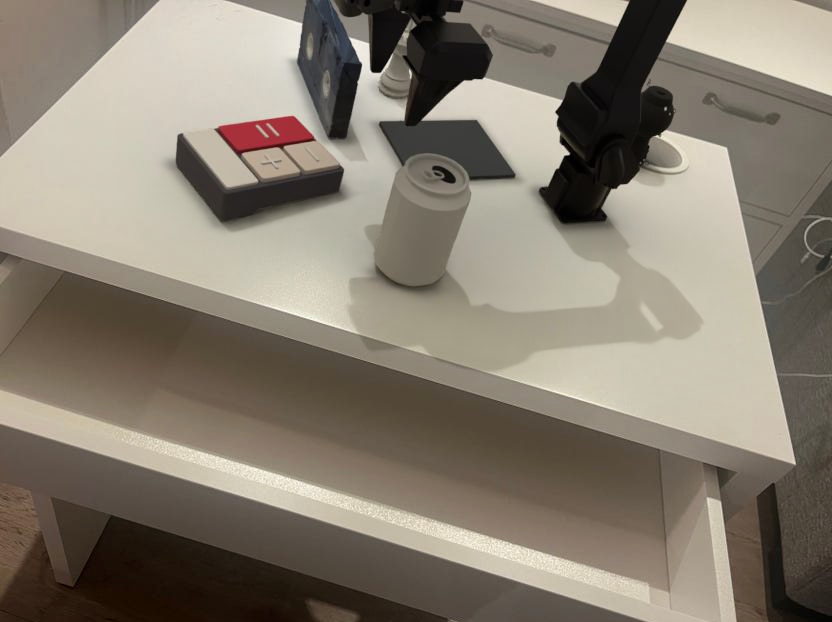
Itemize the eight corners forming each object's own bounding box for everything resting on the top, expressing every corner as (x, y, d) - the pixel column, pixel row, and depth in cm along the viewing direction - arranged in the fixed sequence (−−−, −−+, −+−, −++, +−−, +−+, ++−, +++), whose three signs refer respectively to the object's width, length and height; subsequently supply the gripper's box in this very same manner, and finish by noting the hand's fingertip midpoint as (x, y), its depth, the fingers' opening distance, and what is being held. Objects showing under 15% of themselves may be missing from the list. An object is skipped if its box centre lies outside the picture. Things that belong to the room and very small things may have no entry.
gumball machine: (658, 172, 102) (697, 105, 94) (622, 175, 100) (659, 106, 92) (630, 143, 106) (665, 76, 98) (595, 145, 103) (629, 77, 96)
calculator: (347, 164, 83) (225, 187, 75) (339, 196, 86) (221, 222, 78) (295, 110, 88) (176, 127, 80) (289, 142, 91) (173, 161, 84)
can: (456, 280, 79) (493, 185, 71) (400, 300, 76) (431, 203, 67) (413, 236, 83) (443, 141, 74) (358, 253, 79) (382, 155, 71)
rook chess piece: (379, 78, 105) (392, 21, 99) (410, 86, 105) (425, 29, 99) (375, 94, 101) (388, 36, 96) (408, 102, 102) (423, 45, 96)
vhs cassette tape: (347, 140, 93) (363, 63, 86) (323, 139, 92) (338, 62, 85) (317, 62, 104) (329, -11, 97) (296, 61, 103) (306, -13, 96)
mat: (475, 123, 101) (476, 119, 101) (514, 177, 94) (516, 174, 94) (378, 124, 97) (379, 121, 96) (412, 182, 90) (413, 178, 89)
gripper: (311, -136, 63) (283, 44, 75) (390, -36, 52) (343, 157, 64) (430, -119, 67) (387, 49, 79) (526, -23, 56) (459, 156, 68)
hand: (391, 97), depth 72 cm, fingers open, 9 cm apart
